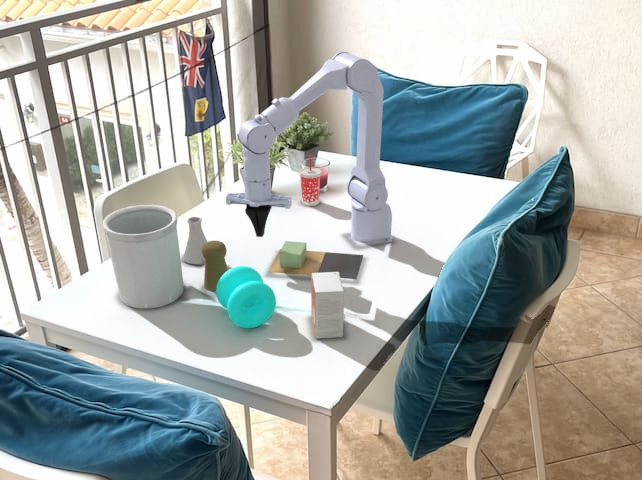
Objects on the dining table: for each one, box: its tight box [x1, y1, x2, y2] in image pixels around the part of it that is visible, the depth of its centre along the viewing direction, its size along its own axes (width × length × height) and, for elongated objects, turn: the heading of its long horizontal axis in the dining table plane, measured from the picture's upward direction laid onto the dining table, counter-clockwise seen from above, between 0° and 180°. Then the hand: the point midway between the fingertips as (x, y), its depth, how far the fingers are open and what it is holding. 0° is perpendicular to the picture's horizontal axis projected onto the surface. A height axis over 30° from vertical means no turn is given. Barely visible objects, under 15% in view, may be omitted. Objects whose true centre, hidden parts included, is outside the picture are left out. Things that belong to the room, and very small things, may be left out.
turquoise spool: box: [215, 265, 277, 329], centre depth 140 cm, size 10×10×10 cm
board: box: [268, 248, 364, 280], centre depth 160 cm, size 20×12×1 cm, turn 79°
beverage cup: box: [298, 152, 323, 207], centre depth 189 cm, size 6×6×14 cm
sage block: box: [279, 240, 308, 268], centre depth 160 cm, size 5×6×4 cm
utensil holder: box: [102, 204, 185, 310], centre depth 147 cm, size 15×15×18 cm
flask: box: [182, 216, 208, 265], centre depth 162 cm, size 7×7×10 cm
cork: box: [202, 240, 229, 293], centre depth 150 cm, size 6×6×11 cm
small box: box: [310, 272, 345, 340], centre depth 136 cm, size 8×6×10 cm
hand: (260, 235), depth 159 cm, fingers closed
